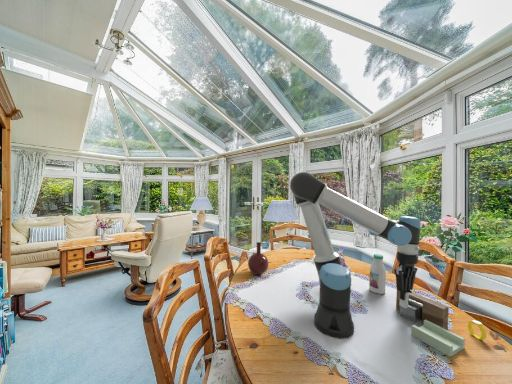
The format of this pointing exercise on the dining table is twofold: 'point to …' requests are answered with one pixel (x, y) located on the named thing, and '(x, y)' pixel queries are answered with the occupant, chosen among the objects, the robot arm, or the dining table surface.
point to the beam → (429, 309)
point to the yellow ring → (479, 327)
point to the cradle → (439, 338)
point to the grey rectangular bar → (413, 310)
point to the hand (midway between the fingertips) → (403, 306)
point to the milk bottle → (377, 275)
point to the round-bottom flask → (258, 261)
